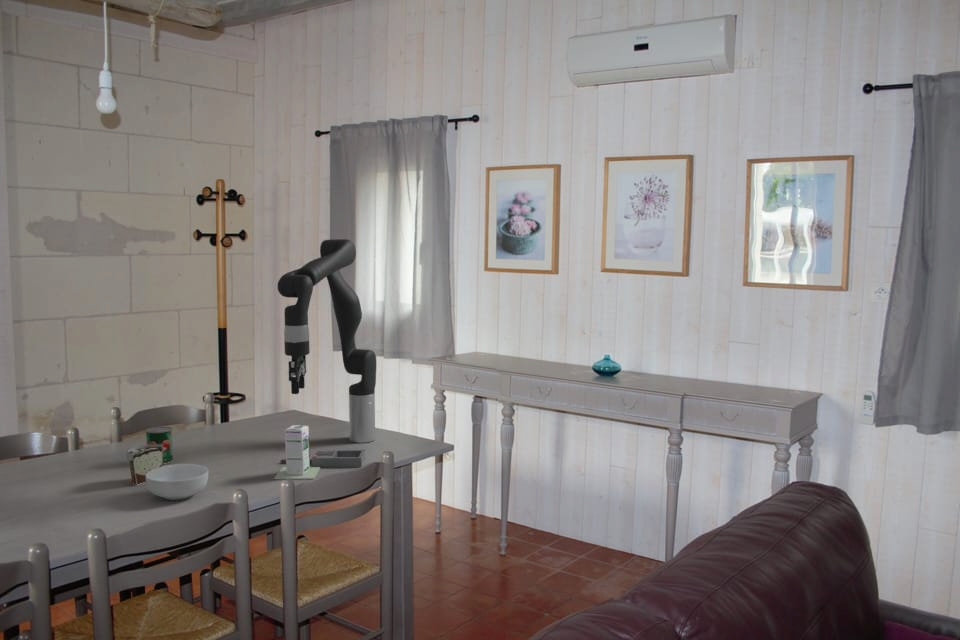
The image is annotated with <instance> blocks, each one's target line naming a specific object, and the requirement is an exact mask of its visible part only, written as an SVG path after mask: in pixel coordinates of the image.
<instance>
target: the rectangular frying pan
mask: <svg viewBox="0 0 960 640" xmlns="http://www.w3.org/2000/svg"><path fill="white" fill-rule="evenodd" d="M365 460H366V449H316V451H315V452H314V453H313V455H312V457H310V465H311V467H320V468H360V467H359V466H362V467H363V464H364V462H365ZM279 462H280V464H286V458H284V459H281V460H280V461H279Z"/></svg>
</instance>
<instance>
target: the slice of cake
mask: <svg viewBox="0 0 960 640" xmlns="http://www.w3.org/2000/svg"><path fill="white" fill-rule="evenodd" d="M163 451H165V450H164V447H163V445H147V444H144V445H138V446H135V447H132V448H129V449H128V450H127V453H126V458H125V459H126V460H128V463H129V469H130V470H129V471H130V475H131V476H130V477H131V483H134V484H136V485H137V484H140V483H143V482H146V477H145V476H146V474H147V473H148V472H149V471H151V470H153V469H156V468H159V467H163V465H162V464H163ZM136 485H135V486H136ZM137 486H138V485H137Z"/></svg>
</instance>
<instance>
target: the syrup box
mask: <svg viewBox="0 0 960 640" xmlns="http://www.w3.org/2000/svg"><path fill="white" fill-rule="evenodd" d="M309 431H310V428H309V425H305V424H304V425H303V424H295V425H293V424H291V426H290V427H287V428H285V430H284V442H285V443H284V444H285V445H284V447H285V459H286V463H285V465H286V466H285V467H286V471H287V474H290V475H304V474H305V473H306V472H308V471H309V470H310V467H311V463H310V459H311V457H310V433H309Z"/></svg>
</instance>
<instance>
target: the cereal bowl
mask: <svg viewBox="0 0 960 640" xmlns="http://www.w3.org/2000/svg"><path fill="white" fill-rule="evenodd" d="M145 477H146V483H145V484H146V487H147V489H148V491H149V492H150V493H151V494H153V495H154V496H157V497H161V498H164V499H165V500H168V499H169V500H171V501H174V500H175V501H176V500H177V501H178V500H184V499H188V498H190V497H192V496H193V495H194V494H197V493H199V492H200V491H202V490H203V489H204V488H205V486H206V485H207V483H208V480H209V469H208V467H206V466H204V465H201V464H196V463H195V464H193V463H175V464H167V465H162V467H159V468H156V469H153V470H151V471H149V472H148V473H147V474H146V476H145ZM169 500H168V501H169Z"/></svg>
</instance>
